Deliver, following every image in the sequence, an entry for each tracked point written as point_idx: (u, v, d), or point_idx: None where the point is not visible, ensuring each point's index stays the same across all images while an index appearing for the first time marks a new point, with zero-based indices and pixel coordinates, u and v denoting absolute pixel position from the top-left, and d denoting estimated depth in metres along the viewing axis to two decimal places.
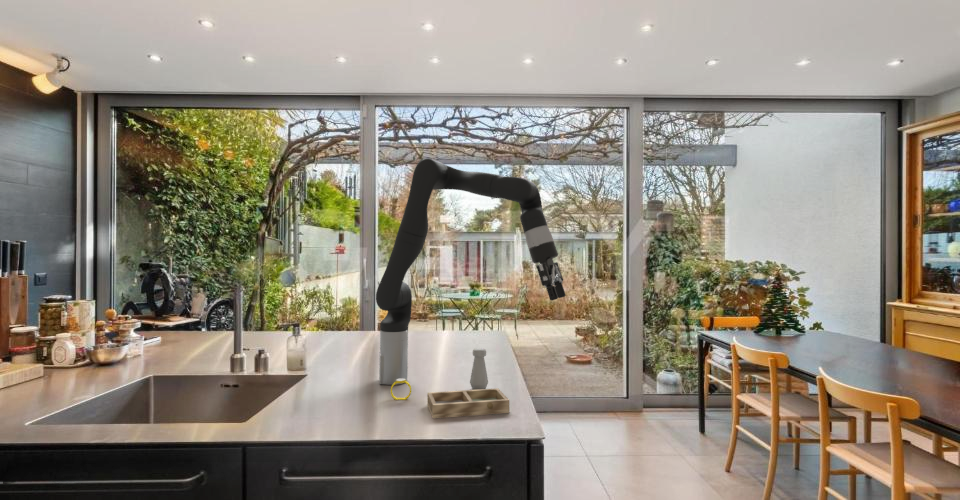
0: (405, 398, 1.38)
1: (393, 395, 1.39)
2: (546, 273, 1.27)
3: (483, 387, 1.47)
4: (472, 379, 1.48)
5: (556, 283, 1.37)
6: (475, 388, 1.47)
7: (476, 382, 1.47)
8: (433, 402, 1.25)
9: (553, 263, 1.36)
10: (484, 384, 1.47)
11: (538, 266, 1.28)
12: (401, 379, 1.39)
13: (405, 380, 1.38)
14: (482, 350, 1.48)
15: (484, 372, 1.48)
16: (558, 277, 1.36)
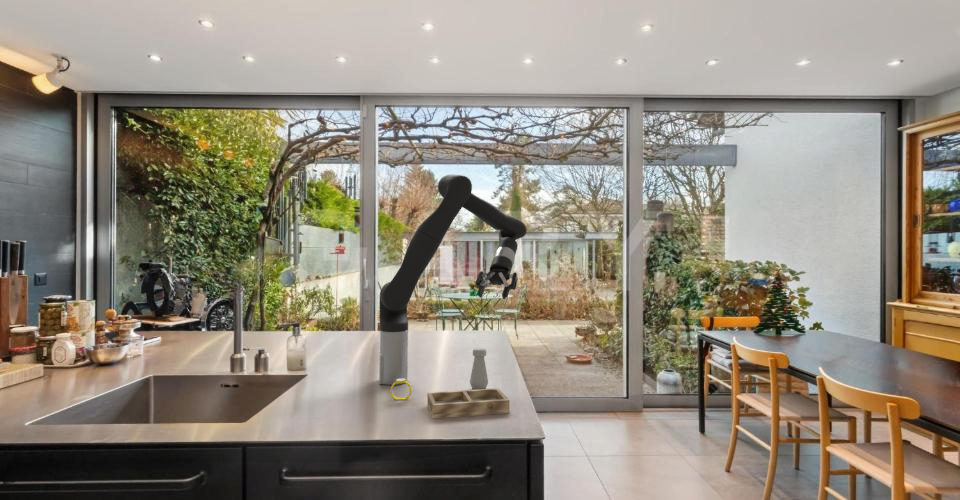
0: (405, 398, 1.38)
1: (393, 395, 1.39)
2: (516, 283, 1.62)
3: (483, 387, 1.47)
4: (472, 379, 1.48)
5: (483, 286, 1.63)
6: (475, 388, 1.47)
7: (476, 382, 1.47)
8: (433, 402, 1.25)
9: None
10: (484, 384, 1.47)
11: (516, 274, 1.63)
12: (401, 379, 1.39)
13: (405, 380, 1.38)
14: (482, 350, 1.48)
15: (484, 372, 1.48)
16: (488, 285, 1.65)
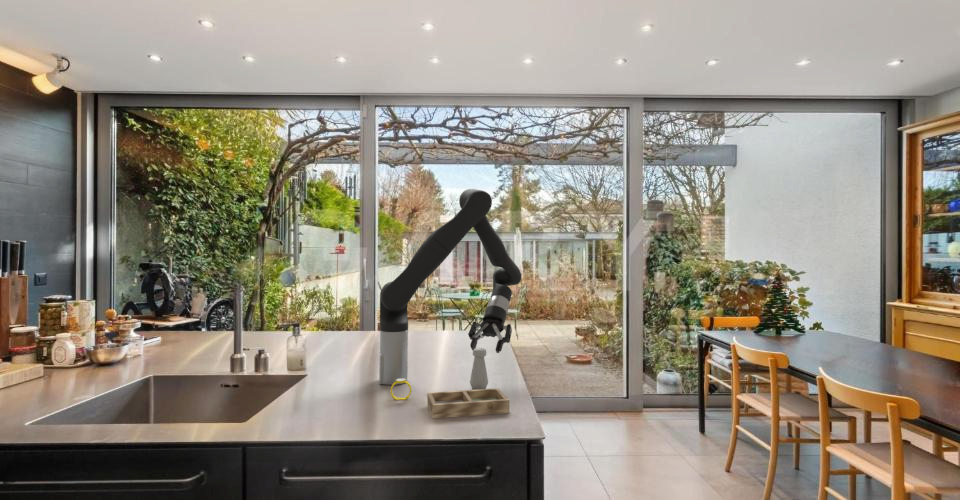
0: (405, 398, 1.38)
1: (393, 395, 1.39)
2: (510, 335, 1.57)
3: (483, 387, 1.47)
4: (472, 379, 1.48)
5: (476, 337, 1.58)
6: (475, 388, 1.47)
7: (476, 382, 1.47)
8: (433, 402, 1.25)
9: None
10: (484, 384, 1.47)
11: (510, 326, 1.58)
12: (401, 379, 1.39)
13: (405, 380, 1.38)
14: (482, 350, 1.48)
15: (484, 372, 1.48)
16: (481, 337, 1.60)
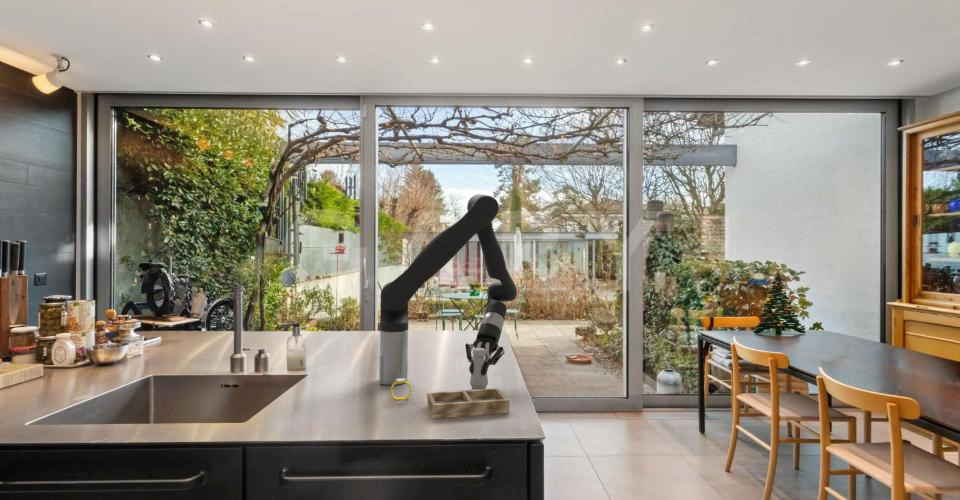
0: (405, 398, 1.38)
1: (393, 395, 1.39)
2: (499, 358, 1.51)
3: (483, 387, 1.47)
4: (472, 379, 1.48)
5: None
6: (475, 388, 1.47)
7: (476, 382, 1.47)
8: (433, 402, 1.25)
9: None
10: (484, 384, 1.47)
11: (502, 349, 1.51)
12: (401, 379, 1.39)
13: (405, 380, 1.38)
14: (482, 350, 1.48)
15: None
16: None
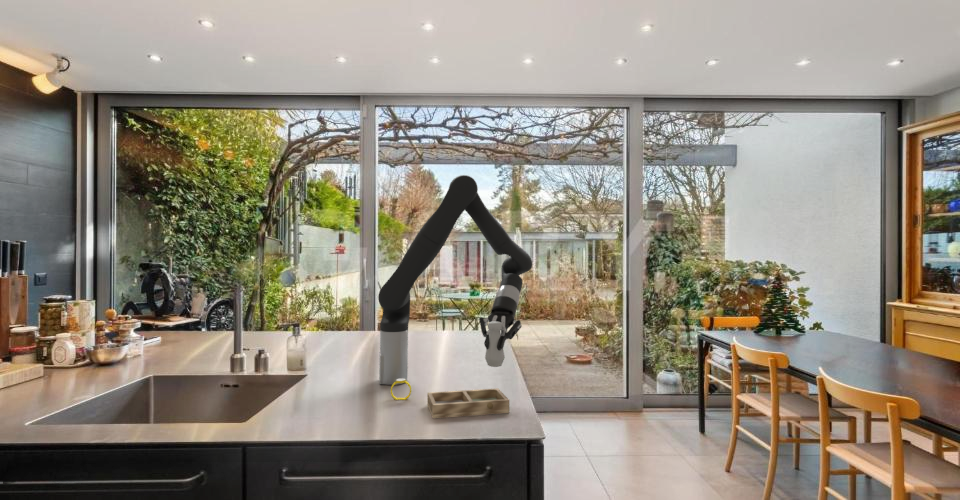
0: (405, 398, 1.38)
1: (393, 395, 1.39)
2: (516, 332, 1.41)
3: (499, 363, 1.38)
4: (488, 354, 1.38)
5: None
6: (491, 364, 1.38)
7: (492, 357, 1.37)
8: (433, 402, 1.25)
9: None
10: (500, 359, 1.38)
11: (520, 323, 1.41)
12: (401, 379, 1.39)
13: (405, 380, 1.38)
14: (498, 323, 1.39)
15: None
16: None
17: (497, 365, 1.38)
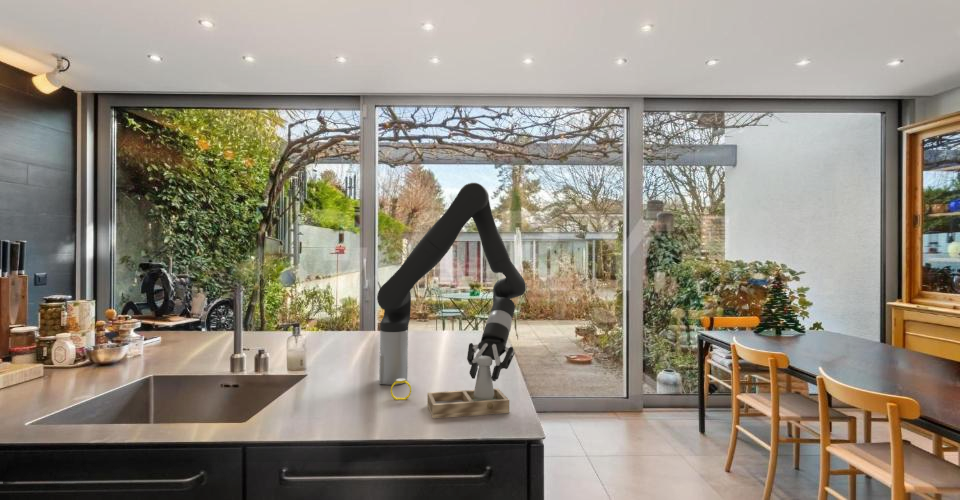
0: (405, 398, 1.38)
1: (393, 395, 1.39)
2: (510, 360, 1.34)
3: None
4: (476, 391, 1.31)
5: (476, 363, 1.34)
6: None
7: (481, 394, 1.30)
8: (433, 402, 1.25)
9: None
10: (490, 397, 1.31)
11: (513, 350, 1.34)
12: (401, 379, 1.39)
13: (405, 380, 1.38)
14: (488, 359, 1.31)
15: (490, 383, 1.31)
16: None
17: None
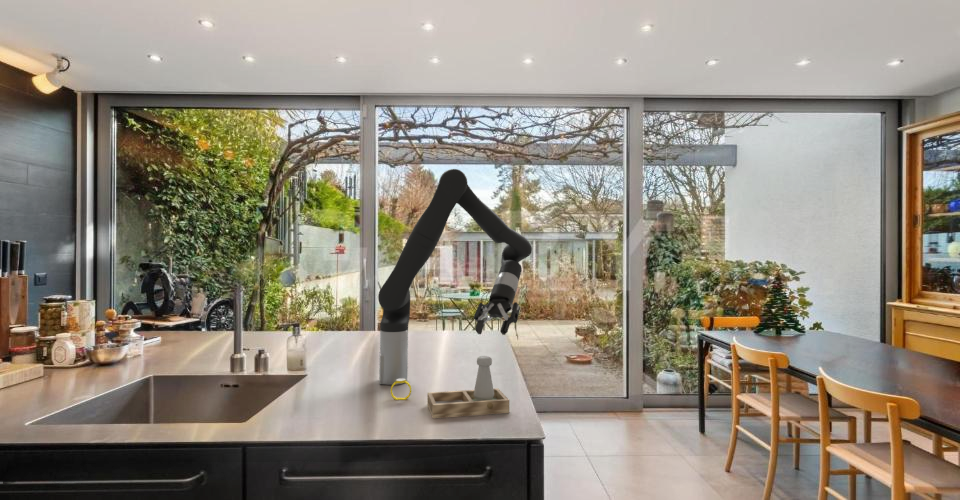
0: (405, 398, 1.38)
1: (393, 395, 1.39)
2: (518, 314, 1.42)
3: None
4: (476, 391, 1.31)
5: (482, 320, 1.46)
6: None
7: (481, 394, 1.30)
8: (433, 402, 1.25)
9: None
10: (490, 397, 1.31)
11: (517, 304, 1.43)
12: (401, 379, 1.39)
13: (405, 380, 1.38)
14: (487, 358, 1.32)
15: (490, 383, 1.32)
16: (489, 319, 1.47)
17: None
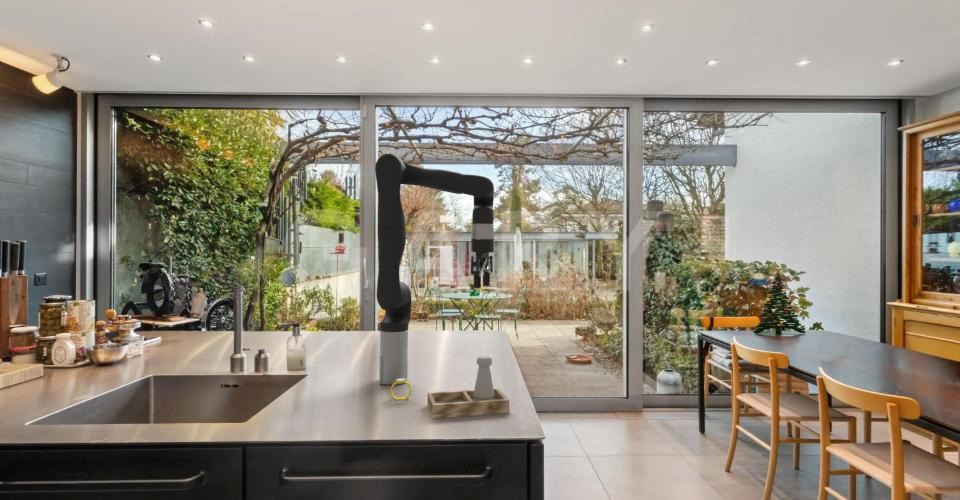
0: (405, 398, 1.38)
1: (393, 395, 1.39)
2: (477, 265, 1.49)
3: None
4: (476, 391, 1.31)
5: (485, 273, 1.60)
6: None
7: (481, 394, 1.30)
8: (433, 402, 1.25)
9: (488, 256, 1.58)
10: (490, 397, 1.31)
11: (472, 257, 1.49)
12: (401, 379, 1.39)
13: (405, 380, 1.38)
14: (487, 358, 1.32)
15: (490, 383, 1.32)
16: (488, 269, 1.58)
17: None
